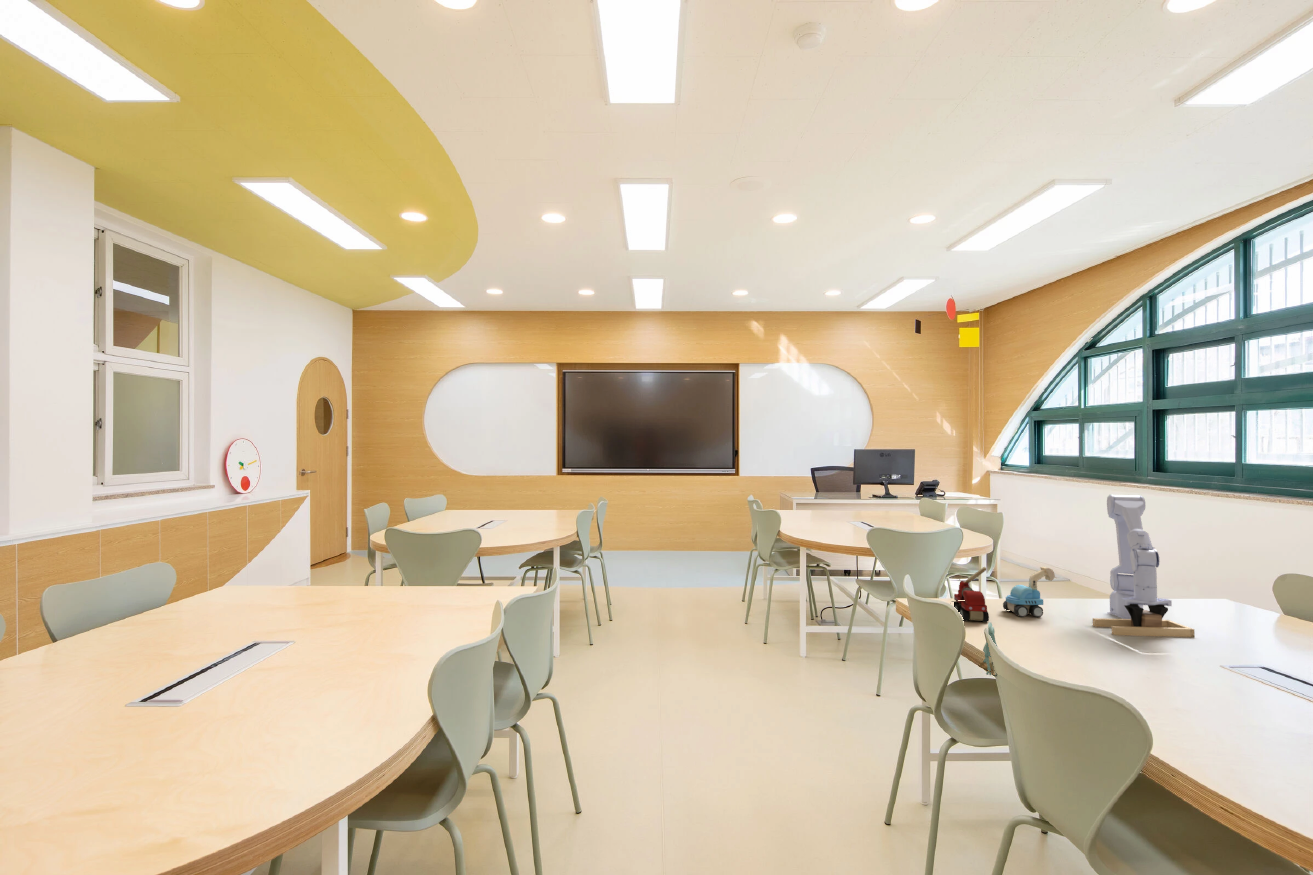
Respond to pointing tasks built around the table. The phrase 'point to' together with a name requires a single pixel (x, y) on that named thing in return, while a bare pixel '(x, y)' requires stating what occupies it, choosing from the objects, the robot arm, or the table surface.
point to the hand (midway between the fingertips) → (1146, 627)
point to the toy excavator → (1028, 595)
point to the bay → (1144, 628)
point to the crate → (1150, 619)
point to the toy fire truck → (971, 600)
